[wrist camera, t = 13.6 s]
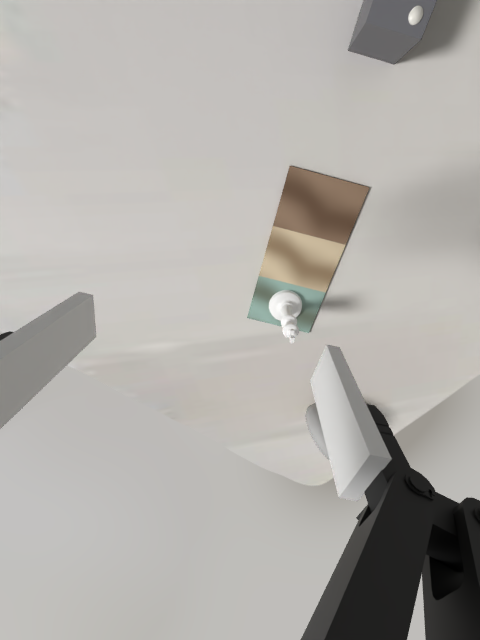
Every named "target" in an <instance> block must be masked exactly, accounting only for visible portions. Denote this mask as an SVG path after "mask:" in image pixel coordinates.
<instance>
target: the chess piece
mask: <svg viewBox="0 0 480 640" xmlns="http://www.w3.org/2000/svg"><path fill="white" fill-rule="evenodd" d="M301 309H302V301H301V298H300V297H299V295H298V294H296V293H295V292H293V291H290V290H282V291H279V292H277V293H275V294H274V295H273V296H272V297H271V299H270V301H269V310H270V313H271V314H272V316H273V317H274V318H275V319H277V320H279V321H281V325H282V327H283V334H284V336H285V337H287V338H290V343H294V341H295V337H296V336H297V335H298V333H299V328H298V326H297V319H296V317H297V316H298V315H299V314H300V312H301Z"/></svg>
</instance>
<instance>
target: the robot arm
mask: <svg viewBox="0 0 480 640" xmlns="http://www.w3.org/2000/svg"><path fill="white" fill-rule="evenodd" d="M95 337H96V326H95V314H94V301H93V295H91V294H87V293H82V292H78V293H76V294H75V295H73V296H71V297H70V298H68V299H67V300H65V301H63V302H62V303H60V304H59V305H57V306H55V307H54V308H52V309H51V310H49V311H47V312H46V313H44V314H43V315H41V316H39V317H38V318H36V319H35V320H33V321H31V322H30V323H28V324H26V325H25V326H23V327H22V328H20V329H18V330H17V331H15V332H10V331H9V332H6V333H4V334H1V335H0V429H1V428H2V427H3V426H4V425H5V424H6V423H7V422H8V421H9V420H10V419H11V418H12V417H13V416H14V415H15V414H16V413H17V412H19V411H20V410H21V408H23V407H24V406H25V405H26V404H27V403H28V402H29V401H30V400H31V399H32V398H33V397H34V396H35V395H36V394H37V393H38V392H39V391H40V390H41V389H42V388H43V387H44V386H46V385H47V384H48V383H49V382H50V381H51V380H52V379H53V378H54V377H55V376H56V375H57V374H58V373H59V372H60V371H61V370H62V369H63V368H64V367H65V366H66V365H67V364H68V363H69V362H71V361H72V360H73V359H74V358H75V357H76V356H77V355H78V354H79V353H80V352H81V351H82V350H83V349H84V348H85V347H86V346H87V345H88V344H89V343H90V342H91V341H92V340H93V339H94V338H95ZM310 382H311V386H312V390H313V394H314V398H315V403H316V407H317V411H318V415H319V419H320V423H321V427H322V431H323V435H324V439H325V443H326V447H327V452H328V456H329V460H330V464H331V468H332V472H333V476H334V480H335V484H336V488H337V492H338V496H339V498H343V499H349V500H354V501H358V500H359V499H360V498H361V497H362V495H363V494H364V493H365V495H366V498H367V501H368V505H367V506H366V507H365V508H364V510H363V511H362V512H361V513H360V514H359V515H358V517H357V519H358V520H359V521H358V523H357V525H356V527H355V529H354V531H353V533H352V535H351V537H350V539H349V542H348V544H347V545H346V548H345V550H344V552H343V554H342V556H341V558H340V560H339V562H338V564H337V566H336V568H335V570H334V572H333V574H332V576H331V579H330V581H329V583H328V585H327V587H326V589H325V591H324V593H323V595H322V597H321V599H320V602H319V604H318V606H317V607H316V610H315V612H314V614H313V616H312V618H311V620H310V622H309V624H308V626H307V628H306V630H305V632H304V634H303V636H302V638H301V640H407V636H408V632H409V627H410V623H411V618H412V614H413V609H414V605H415V601H416V596H417V591H418V587H419V582H420V578H421V574H422V581H423V599H424V617H425V635H426V640H480V501H479V500H477V499H475V498H466V499H464V500H463V501H462V502H461V503H460V504H459V503H457V502H455V501H453V500H451V499H449V498H447V497H445V496H443V495H441V494H439V493H437V492H435V490H434V488H433V486H432V485H431V484H430V482H429V481H428V480H427V479H426V478H425V477H424V476H423V475H422V474H420V473H419V472H417V471H415V470H414V469H412V468H410V466H409V463H408V462H407V460H406V458H405V456H404V454H403V452H402V450H401V448H400V446H399V444H398V442H397V440H396V439H395V437H394V436H393V433H392V431H391V429H390V428H389V425H388V423H387V421H386V419H385V417H384V415H383V414H382V413H381V412H380V411H379V410H378V409H377V408H376V407H375V406H374V405H369V404H366V403H365V401H364V398H363V396H362V394H361V392H360V390H359V388H358V386H357V383H356V381H355V379H354V377H353V375H352V373H351V371H350V369H349V366H348V364H347V362H346V360H345V358H344V356H343V354H342V351H341V349H340V347H336V346H331V345H326V347H325V349H324V351H323V353H322V356H321V358H320V360H319V362H318V365H317V367H316V369H315V371H314V374H313V376H312V378H311V380H310Z"/></svg>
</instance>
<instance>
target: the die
mask: <svg viewBox="0 0 480 640" xmlns="http://www.w3.org/2000/svg"><path fill="white" fill-rule="evenodd" d="M436 1H437V0H364V1H363V4H362V7H361V10H360V13H359V17H358V20H357V23H356V26H355V29H354V32H353V36H352V39H351V42H350V45H349V48H348V51H351V52H354V53H358V54H361V55H365V56H368V57H371V58H375V59H378V60H381V61H385V62H388V63H391V64H395V63H396V62H397V61H398V60H399V59H400V58H402V57H403V56H404V55H405V54H406V53H407V52H408V51H409V50H410V49H411V48H412V47H413V46H415V45H416V44H417V43H418V42H419V41H420V40H421V38H422V36H423V33H424V31H425V29H426V26H427V24H428V21H429V19H430V16H431V14H432V11H433V9H434V6H435V4H436Z"/></svg>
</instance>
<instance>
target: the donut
mask: <svg viewBox="0 0 480 640" xmlns="http://www.w3.org/2000/svg"><path fill="white" fill-rule="evenodd" d="M305 416H306V423H307V427H308V430H309V432H310V434H311V437H312V439H313V440H314V442H315V444H316V446H317V447H318V448H319V450H320V451H321V452H322V454H323V455H324V456H325V457H326V458H327V459H328V460H329V456H328V452H327V447H326V443H325V439H324V435H323V431H322V427H321V423H320V419H319V415H318V411H317V407H316V403H315V404H312V405H310V406H309V407H308V408H307V411H306V415H305Z"/></svg>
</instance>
